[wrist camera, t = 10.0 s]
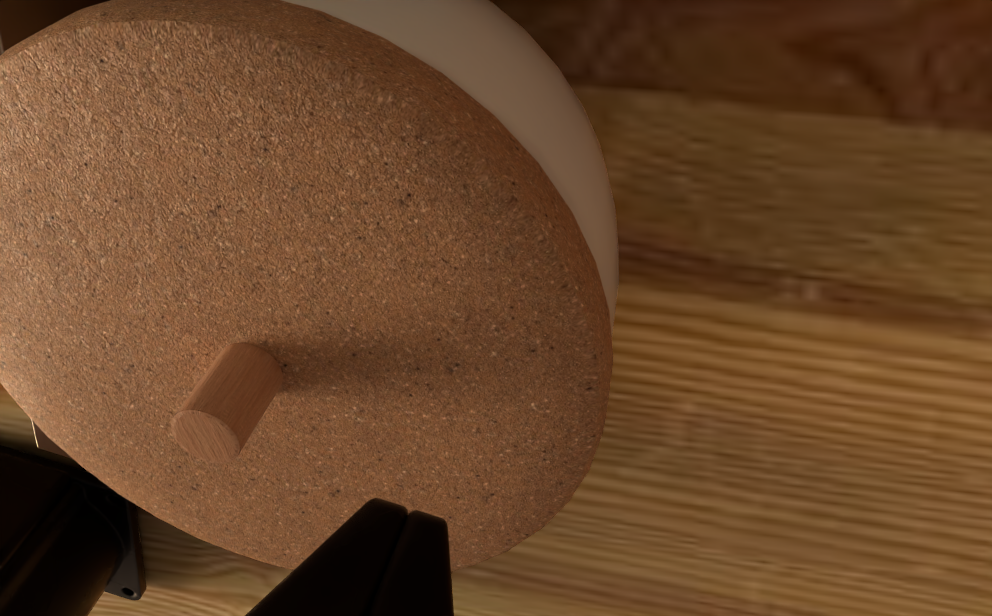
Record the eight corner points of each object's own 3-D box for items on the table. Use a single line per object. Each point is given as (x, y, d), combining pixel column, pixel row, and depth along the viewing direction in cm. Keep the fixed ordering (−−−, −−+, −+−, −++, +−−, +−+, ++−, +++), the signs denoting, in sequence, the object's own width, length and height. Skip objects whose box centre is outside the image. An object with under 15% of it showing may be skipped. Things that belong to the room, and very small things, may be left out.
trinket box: (278, 337, 24) (75, 641, 17) (96, -75, 18) (-337, 123, 11) (678, 322, 21) (640, 691, 14) (615, -185, 15) (487, -7, 8)
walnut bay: (487, 460, 25) (450, 577, 22) (120, 351, 26) (35, 449, 23) (687, -315, 14) (668, -297, 11) (16, -471, 14) (-185, -498, 11)
